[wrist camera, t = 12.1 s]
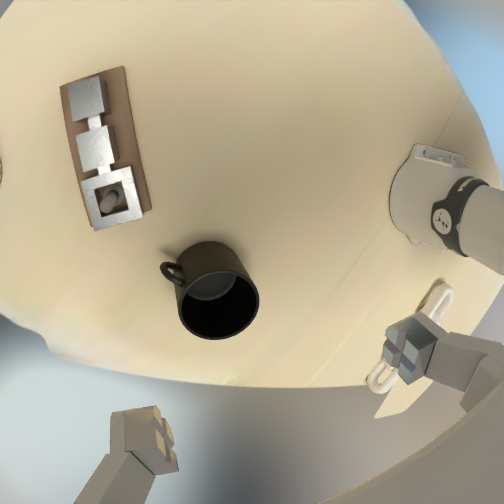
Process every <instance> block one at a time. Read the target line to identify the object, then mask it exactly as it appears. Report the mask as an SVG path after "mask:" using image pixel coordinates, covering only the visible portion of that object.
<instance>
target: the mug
mask: <svg viewBox="0 0 504 504" xmlns="http://www.w3.org/2000/svg"><path fill="white" fill-rule="evenodd" d="M167 268H169V269H173V270H174V275H173V274H172V273H170V272H169V270H168V269H167ZM160 270H161V272H162V274H163V275H164V276H165V277H166V278H167V279H168V280H169V281H171V282H173V283H174V284H175V292H176V299H177V307H178V314H179V317H180V320H181V322H182V324H183V325H184V326H185V328H186V329H187V330H188V331H190V332H191V333H192V334H194V335H196V336H198V337H200V338H204V339H209V340H220V339H226V338H229V337H232V336H235V335H237V334H238V333H240V332H242V331H243V330H244V329H246V328H247V327H248V326H249V325H250V324H251V322H252V321H253V320H254V318H255V316H256V314H257V312H258V308H259V294H258V291H257V288H256V286H255V285H254V283H253V281H252V280H251V278H250V276H249V275H248V273H247V271H246V270H245V268H244V267H243V265H242V263H241V262H240V260H239V258H238V257H237V255H236V254H235V253H234V251H232V250H231V249H230V248H229V247H227V246H225V245H223V244H220V243H216V242H203V243H199V244H196V245H193V246H192V247H190V248H188V249H187V250H186V251H184V252H183V254H182V255H181V256H180V257H179V259H178V260H177V262H176V264H175V263H171V262H163V263H162V264H161V265H160Z"/></svg>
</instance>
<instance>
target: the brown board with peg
mask: <svg viewBox="0 0 504 504" xmlns="http://www.w3.org/2000/svg"><path fill="white" fill-rule="evenodd" d="M97 76H100V77H101V78H102V79H103V80H104V81H105V82H106V83H107V90H108V97H109V103H110V109H111V114H110V115H106V116H103V122H104V126H106V125H108V126H114V131H115V136H116V141H117V146H118V150H119V155H120V159H119V160H118V161H116V162H115V163H112V166H113V169H117V168H120V167H124V166H127V165H131V164H132V165H133V170H134V174H135V178H136V182H137V187H138V191H139V195H140V199H141V203H142V207H143V210H144V212H146V211H150V210H151V209H152V206H151V202H150V198H149V194H148V190H147V185H146V181H145V177H144V172H143V168H142V163H141V159H140V154H139V149H138V145H137V140H136V135H135V129H134V124H133V119H132V113H131V107H130V102H129V96H128V89H127V83H126V76H125V69H124V67H123V66H120V67H116V68H113V69H109V70H106V71H103V72H99V73H96V74H93V75H90V76H87V77H84V78H81V79H79V80H76V81H73V82H70V83H68V84H65V85H62V86H60V94H61V101H62V107H63V114H64V120H65V125H66V131H67V136H68V141H69V146H70V150H71V155H72V159H73V164H74V168H75V172H76V176H77V180H78V184H79V188H80V191H81V195H82V199H83V202H84V206H85V209H86V212H87V216H88V219H89V222H90V225H91V227H93V224H92V221H91V218H90V214H89V211H88V207H87V204H86V200H85V197H84V193H83V190H82V186H81V181H82V180H83V179H85V178H88V177H91V176H94V175H97V174H99V172H98V168H95V169H92V170H89V171H86V172H83V168H82V164H81V159H80V155H79V150H78V145H77V141H76V135H79V134H82V133H85V132H88V131H90V130H89V125H88V122H85V123H79V122H73V120H72V114H71V108H70V101H69V94H68V86H71V85H73V84H76V83H79V82H82V81H85V80H87V79H90V78H93V77H97ZM99 192H100V196H101V199H102V201H101V203H100V210H101V211H102V212H104V213H109V212H110V211H111V210H114V209H118V208H121V207H125V206H128V204H127V200H126V196H125V192H124V188H123V184H122V181H119V182H116V183H112V184H109V185H106V186H103V187H99Z"/></svg>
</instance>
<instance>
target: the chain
mask: <svg viewBox="0 0 504 504" xmlns="http://www.w3.org/2000/svg"><path fill="white" fill-rule="evenodd" d="M454 295H455V291H454V289H453V288H452V287H451V286H450V285H448V284H447V283H443V284H440V285H439V286H438V287H437V288H436V289H435V291H434V292H433V294H432V295H431V297H430V298H429V300H428V301H427V303H426V304H425V306H424V307H423V308H421V309H419V310H418V312H422V313H424V314H425V315H426V316H428V317H429V318H430V319H431V320H433V321H434V322H435V323H436V324H437V325H439V326H440V322H441V318H442V317H443V315H444V314H445V312H446V311H447V309H448V308H449V306H450V305H451V303H452V301H453V299H454ZM386 367H387V369H389V370H390V371H392V373H391V374H390V375H389V377H388V378H387V379H386V380H385V381H384V382H383V384H381V385H378V383H377V380H378V377H379V375H380V374H381V373H382V372H383V371H384V370H385V368H386ZM399 378H400V376H399V375H398V371H397V368H394V367H391V366H390V365H389V364H388V363H387V362H386V360H385V358H384V357H383V358H382V359H381V360H380V361H379V363H378V364H377V365H376V366H375V367H374V369H373V370H372V371H371V372H370V373H369V375H368V378H367V383H368V386H369V388H370V389H371V390H372V391H373V392H375V393H378V394H382V393H385V392H387V391H388V390H389V389H390V388H391V387H392V386H393V384H394V383H395V382H396V381H397V380H398V379H399Z"/></svg>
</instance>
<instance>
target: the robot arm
mask: <svg viewBox="0 0 504 504" xmlns="http://www.w3.org/2000/svg"><path fill="white" fill-rule="evenodd" d="M390 212H391V217H392V220H393V222H394V224H395V226H396V227H397V228H398V229H399V230H400V231H401V232H403V233H405V234H406V235H407V236H408V238H409V240H410V242H411V243H412V244H414V245H419V244H421V243H424V244H426V245H429V246H431V247H434V248H436V249H438V250H441V251H445V250H447V249H450V250H452V251H453V252H454V253H456V254H458V255H462V256H464V257H471V258H473V259H474V260H476V261H478V262H480V263H481V264H483V265H485V266H487V267H488V268H490V269H492V270H493V271H495V272H497V273H498V274H501V275H504V191H502V190H499V189H496V188H493V187H490V186H489V185H488V184H487V183H486V182H484V181H483V180H481V179H479V178H478V176H477V173H476V171H475V170H473V169H470V168H467V167H465V158H463V157H462V156H461V155H459V154H456V153H453V152H449V151H445V150H442V149H438V148H434V147H430V146H426V145H422V144H415V145H414V147H413V149H412V151H411V154H410V157H409V158H408V160H407V161H406V162H405V163H404V165H403V166H402V167H401V168H400V170H399V171H398V173H397V175H396V177H395V179H394V182H393V185H392V189H391V194H390ZM385 336H386V337H387V340H386V341H385V343H384V344H383V355H384V358H385V360H386V362H387V363H388V364H389V365H390V366H391V367H394V368H397V371H398V375H399V376H400V377H401V378H402V379H403V381H404V382H405V383H406V384H407V385H409V384H411V383H413V382H414V381H416V380H418V379H419V378H421V377H423V376H424V375H425V377H427V378H430V379H432V380H435V381H437V382H440V383H442V384H445V385H447V386H450V387H452V388H455V389H458V390H460V391H463V392H464V394H463V396H462V398H461V400H460V405H461V406H462V408H463V409H465V411H466V412H467V413H466V414H465V415H464V416H463V417H462V418H460V419H459V420H458V421H457V422H455V423H454V424H453V425H452V426H450V427H449V428H448V429H447V430H445V431H444V432H443V433H441V434H440V435H439V436H437V437H436V438H435V439H433V440H432V441H430V442H429V443H428V444H426V445H425V446H423V447H422V448H420V449H419V450H417V451H416V452H415V453H413V454H411V455H410V456H408V457H407V458H405V459H404V460H402V461H400V462H399V463H397V464H395V465H394V466H392V467H390V468H389V469H387V470H385V471H384V472H382V473H380V474H378V475H376V476H375V477H373V478H371V479H369V480H367V481H365V482H363V483H361V484H359V485H357V486H355V487H353V488H351V489H349V490H347V491H345V492H343V493H340V494H338V495H336V496H334V497H331V498H329V499H327V500H324V501H322V502H320V503H317V504H504V346H503V345H502V344H501V343H499V342H495V341H490V340H485V339H481V338H476V337H472V336H467V335H463V334H458V333H454V332H449V333H447V332H446V331H445V330H444V329H442V328H441V327H440V326H439V325H437V324H436V323H435V322H434V321H433V320H431V319H430V318H429V317H428V316H426V315H425V314H424V313H422V312H417V313H415V314H413V315H411V316H409V317H406V318H404V319H403V320H401V321H399V322H397V323H395V324H393V325H391V326H389V327H388V328H387V329H386V332H385ZM110 421H111V422H110V454H106V455H105V457H104V458H103V460H102V461H101V463H100V464H99V466H98V467H97V469H96V470H95V472H94V473H93V475H92V476H91V478H90V479H89V481H88V482H87V484H86V485H85V487H84V488H83V490H82V492H81V493H80V494H79V496H78V497H77V499H76V500H75V502H74V504H144V503H145V500H146V498H147V496H148V493H149V491H150V489H151V486H152V484H153V481H154V479H155V475H161V474H166V473H172V472H177V471H179V469H178V463H177V457H176V454H175V453H174V451H173V450H172V449H171V448H172V447H173V445H174V440H173V435H172V432H171V429H170V426H169V424H168V422H167V421H166V419H164V418H162V417H161V413H160V410H159V409H158V407H157V406H149V407H143V408H138V409H131V410H124V411H117V412H112V415H111V419H110Z"/></svg>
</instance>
